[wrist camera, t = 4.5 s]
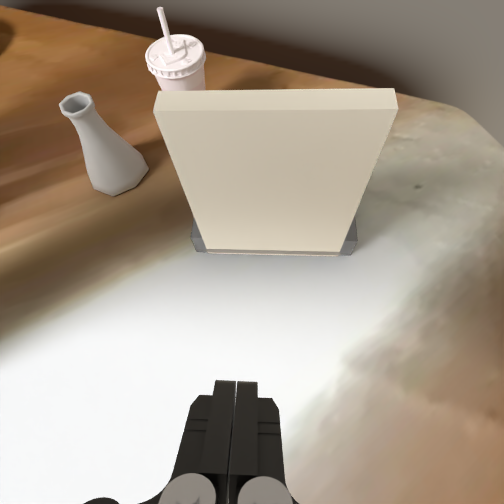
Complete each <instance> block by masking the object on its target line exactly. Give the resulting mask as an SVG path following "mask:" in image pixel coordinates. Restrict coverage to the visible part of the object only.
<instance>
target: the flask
mask: <svg viewBox="0 0 504 504" xmlns="http://www.w3.org/2000/svg"><path fill="white" fill-rule="evenodd" d="M59 106H60V109H61V112H62V113H63V115H64V116H66V117H69V118H70V120H71V121H72V123H73V124H74V126H75V127H76V130H77V132H78V134H79V136H80V140H81V144H82V148H83V153H84V158H85V163H86V168H87V173H88V175H89V178H90V181H91V183H92V186H93V189H95V190H98V191H100V192H103V193H105V194H108V195H110V196H115V195H117V194H120V193H122V192H124V191H127V190H129V189H131V188H134V187H136V186H137V184H138V183H139V182H140V181H141V179H142V178H143V177H144V175H145V174H146V173H147V171H148V170H149V168H148V166H147V164H146V162H145V160H144V158H143V156H142V154H141V153H140V152H138V151H137V150H136V149H135V148H134V147H132V146H131V145H130V144H129V143H127V142H126V141H125V140H124V139H122V138H121V137H120V136H119V135H118V134H117V133H116V132H114V131H113V130H112V129H111V128H110V127H109V126H108V125H107V124H106V123H105V122H104V121H103V119H102V118H101V117H100V116H99V115H98V113H97V112H96V110H95V108H94V107H95V104H94V102H93V100H92V98H91V96H90V94H86V93H83V92H77V93H74V94H71V95H69V96H67V97H66V98H65V99H64V100H63V101H62V102H61V103H60V104H59Z"/></svg>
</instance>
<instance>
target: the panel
mask: <svg viewBox="0 0 504 504" xmlns="http://www.w3.org/2000/svg"><path fill="white" fill-rule="evenodd" d="M397 111H398V105H397V100H396V95H395V91H394V88H368V89H289V90H210V91H158V94H157V98H156V102H155V106H154V109H153V112H154V115H155V118H156V120H157V123H158V125H159V128H160V131H161V133H162V136H163V138H164V141H165V143H166V146H167V149H168V151H169V154H170V156H171V159H172V161H173V164H174V167H175V169H176V172H177V174H178V177H179V179H180V182H181V185H182V187H183V190H184V192H185V195H186V197H187V200H188V203H189V205H190V208H191V210H192V213H193V216H194V218H195V221H196V223H197V226H198V228H199V231H200V234H201V236H202V239H203V241H204V244H205V246H206V251H207V252H208V253H215V254H257V255H299V256H338V255H339V254H340V250H341V247H342V245H343V242H344V240H345V238H346V235H347V233H348V230H349V228H350V225H351V223H352V221H353V218H354V216H355V213H356V211H357V208H358V206H359V204H360V201H361V199H362V196H363V194H364V192H365V189H366V187H367V184H368V182H369V179H370V177H371V175H372V172H373V170H374V167H375V165H376V162H377V160H378V158H379V155H380V153H381V150H382V148H383V145H384V143H385V141H386V138H387V136H388V133H389V131H390V128H391V126H392V124H393V121H394V119H395V116H396V114H397Z"/></svg>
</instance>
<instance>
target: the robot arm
mask: <svg viewBox="0 0 504 504" xmlns="http://www.w3.org/2000/svg"><path fill="white" fill-rule="evenodd" d="M235 398H236V403H235ZM228 499H229V503H228ZM84 504H119V503H118V502H117V501H115V500H114V499H111V498H105V497H103V498H96V499H93V500H90V501H88V502H86V503H84ZM139 504H299V503H298V502H296V501H295V499H294V498H293V497H292V496H291V494H290V493H289V491H288V489H287V486H286V483H285V475H284V464H283V452H282V440H281V429H280V417H279V409H278V407H277V406H276V404H275V402H274V401H273V399H272V398H258V386H257V382H245V381H237V392H236V381H224V380H216V381H215V386H214V391H213V396H212V395H199V396H198V397H197V399H196V400H195V401H194V402H193V403H192V405H191V406H190V410H189V414H188V417H187V421H186V425H185V429H184V432H183V436H182V440H181V443H180V447H179V451H178V455H177V458H176V462H175V466H174V470H173V473H172V476H171V479H170V481H169V482H168V484H167V485H166V487H165V488H164V489H163V490H162V491H161V492H160V493H159V494H158V495H156V496H155V497H153V498H152V499H150V500H148V501H145V502H142V503H139Z"/></svg>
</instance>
